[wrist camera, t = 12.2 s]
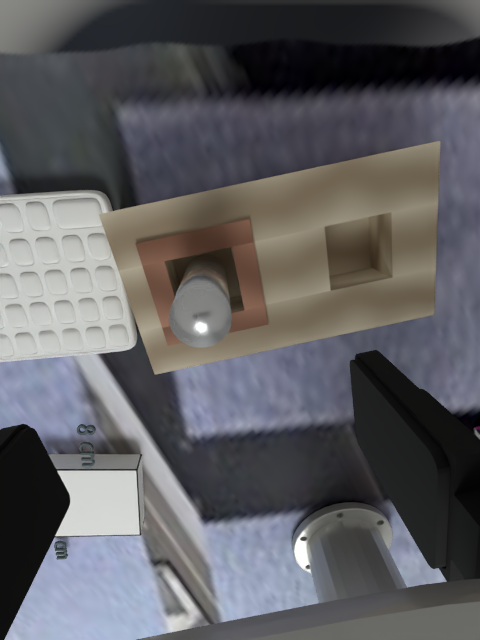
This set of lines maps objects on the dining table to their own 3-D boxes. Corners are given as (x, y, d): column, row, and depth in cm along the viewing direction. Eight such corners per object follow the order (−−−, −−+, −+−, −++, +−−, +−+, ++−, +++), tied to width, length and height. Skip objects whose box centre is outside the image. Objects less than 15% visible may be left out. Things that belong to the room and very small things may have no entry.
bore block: (399, 295, 29) (435, 315, 24) (164, 346, 29) (154, 376, 24) (397, 150, 25) (442, 140, 20) (120, 210, 25) (97, 214, 20)
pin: (229, 289, 26) (237, 340, 17) (191, 297, 26) (178, 353, 17) (221, 250, 25) (224, 282, 16) (181, 259, 25) (161, 296, 16)
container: (146, 546, 39) (141, 570, 37) (48, 548, 38) (37, 573, 36) (140, 410, 32) (134, 428, 30) (20, 408, 31) (3, 426, 28)
